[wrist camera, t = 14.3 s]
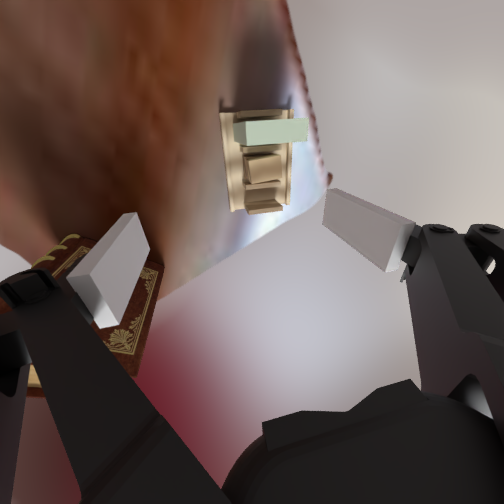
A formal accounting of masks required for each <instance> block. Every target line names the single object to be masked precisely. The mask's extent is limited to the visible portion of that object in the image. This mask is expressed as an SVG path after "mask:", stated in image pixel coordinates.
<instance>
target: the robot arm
mask: <svg viewBox="0 0 504 504" xmlns="http://www.w3.org/2000/svg"><path fill="white" fill-rule="evenodd" d="M322 224H323V225H324V226H325V227H327V228H328V229H329V230H330V231H332V232H333V233H334V234H336V235H337V236H338V237H340V238H341V239H342V240H343V241H345V242H346V243H347V244H349V245H350V246H351V247H353V248H354V249H355V250H356V251H358V252H359V253H360V254H362V255H363V256H364V257H366V258H367V259H368V260H369V261H371V262H372V263H373V264H375V265H376V266H377V267H378V268H380V269H381V270H382V271H384V272H389V271H395V270H397V269H398V267H399V264H400V262H401V260H402V261H404V262H405V263H407V265H406V268H405V270H404V272H403V275H402V277H401V280H400V282H403V280H405V279H406V284H407V290H408V297H409V304H410V310H411V317H412V323H413V331H414V337H415V344H416V351H417V357H418V364H419V371H420V378H421V391H420V390H419V388H418V387H417V386H416V385H415V384H414V383H413V381H412V380H411V379H408V380H404V381H401V382H397V383H394V384H390V385H387V386H384V387H380V388H377V389H376V390H375V391H373V392H372V393H371V394H370V395H368V396H367V397H366V398H365V399H363V400H362V401H361V402H359V403H358V404H357V405H356V406H354V407H353V408H352V409H350V410H349V411H346V412H329V411H299V412H296V413H293V414H289V415H286V416H282V417H279V418H275V419H272V420H269V421H265V422H262V429H263V430H262V431H263V435H262V436H260V437H259V438H257V439H256V440H255V441H254V442H253V443H252V444H250V445H249V446H248V447H247V448H246V449H245V451H244V452H243V453H242V454H241V456H240V457H239V458H238V459H237V461H236V462H235V464H234V465H233V467H232V469H231V470H230V472H229V474H228V476H227V478H226V480H225V482H224V484H223V486H222V488H221V489H220V488H219V486H218V485H217V484H216V483H215V481H214V480H213V479H212V478H211V476H210V475H209V474H208V472H207V471H206V470H205V469H204V467H203V466H202V465H201V464H200V462H199V461H198V460H197V458H196V457H195V456H194V455H193V454H192V452H191V451H190V450H189V448H188V447H187V446H186V445H185V444H184V442H183V441H182V439H181V438H180V437H179V436H178V434H177V433H176V432H175V431H174V429H173V428H172V427H171V426H170V424H169V423H168V422H167V421H166V419H165V418H164V417H163V416H162V415H160V414H159V412H158V411H157V410H156V409H155V407H154V406H153V405H152V404H151V402H150V401H149V400H148V399H147V397H146V396H145V395H144V393H143V392H142V391H141V390H140V388H139V387H138V386H137V384H136V383H135V382H134V380H133V379H132V378H131V377H130V375H129V374H128V373H127V372H126V370H125V369H124V368H123V366H122V365H121V364H120V363H119V361H118V360H117V359H116V357H115V356H114V355H113V354H112V352H111V351H110V350H109V348H108V347H107V346H106V345H105V343H104V342H103V341H102V340H101V338H100V337H99V336H98V334H97V333H96V332H95V331H94V329H93V328H92V327H91V323H92V321H93V319H94V321H95V322H96V324H97V325H98V327H99V328H100V329H101V328H106V327H111V326H116V325H119V324H120V322H121V319H122V317H123V314H124V312H125V309H126V307H127V305H128V302H129V300H130V297H131V295H132V292H133V290H134V288H135V285H136V283H137V280H138V278H139V275H140V273H141V271H142V268H143V266H144V263H145V261H146V258H147V256H148V254H149V251H150V248H149V245H148V242H147V240H146V237H145V234H144V231H143V229H142V226H141V223H140V220H139V218H138V215H137V212H134V213H126V214H123V215H122V216H121V217H120V218H119V219H118V221H117V222H116V223H115V224H114V225H113V226H112V227H111V228H110V229H109V231H108V232H107V233H106V234H105V235H104V236H103V237H102V238H101V239H100V241H99V242H98V243H97V244H96V245H95V246H94V247H93V248H92V249H91V250H90V252H89V253H86V254H84V255H83V256H81V257H79V258H78V259H76V260H75V261H74V263H73V264H72V265H71V267H69V268H68V269H67V270H66V272H64V273H63V274H62V275H61V276H60V277H59V278H58V279H57V280H55V279H54V277H53V276H52V274H51V273H50V271H49V270H48V269H46V268H33V269H28V270H26V271H23V272H19V273H17V274H15V275H12V276H10V277H8V278H7V279H5V280H3V281H1V282H0V297H1V298H2V299H3V300H4V301H5V302H6V303H7V304H8V305H9V306H10V307H11V309H12V310H13V311H10V312H7V313H4V314H1V315H0V504H11V498H12V491H13V484H14V477H15V470H16V463H17V456H18V449H19V442H20V435H21V428H22V421H23V414H24V406H25V400H26V393H27V386H28V379H29V372H30V365H31V363H33V366H34V368H35V371H36V374H37V376H38V379H39V382H40V384H41V387H42V389H43V392H44V395H45V397H46V400H47V403H48V405H49V408H50V411H51V413H52V416H53V418H54V421H55V424H56V426H57V429H58V431H59V434H60V437H61V439H62V442H63V445H64V447H65V450H66V453H67V455H68V458H69V461H70V463H71V466H72V469H73V471H74V473H75V476H76V479H77V481H78V484H79V487H80V491H81V501H80V502H79V504H504V229H502V228H500V227H498V226H495V225H491V224H473V225H471V226H470V228H469V230H468V232H467V233H466V234H458V233H457V231H455V230H454V229H453V228H450V227H447V226H444V225H440V224H426V225H423V226H422V227H421V226H418V225H416V222H414V221H411V220H409V219H407V218H404V217H402V216H400V215H397V214H395V213H393V212H390V211H388V210H386V209H383V208H381V207H379V206H376V205H374V204H372V203H369V202H367V201H364V200H362V199H360V198H358V197H355V196H353V195H351V194H348V193H346V192H344V191H342V190H339V189H327V194H326V201H325V208H324V216H323V223H322ZM493 259H494V260H495V263H496V264H495V268H494V270H493V272H492V273H491V274H488V273H487V272H486V270H487V268H488V267H489V265H490V264H491V262H492V261H493Z"/></svg>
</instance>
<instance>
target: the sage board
mask: <svg viewBox="0 0 504 504" xmlns="http://www.w3.org/2000/svg"><path fill="white" fill-rule="evenodd" d="M308 123H309V118H296V119H279V120H263V121H246V122H240V123H234V124H233V133H234V142H237V143H240V144H243V145H246V146H252V145H265V144H277V143H290V142H303V141H307V136H308Z"/></svg>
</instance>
